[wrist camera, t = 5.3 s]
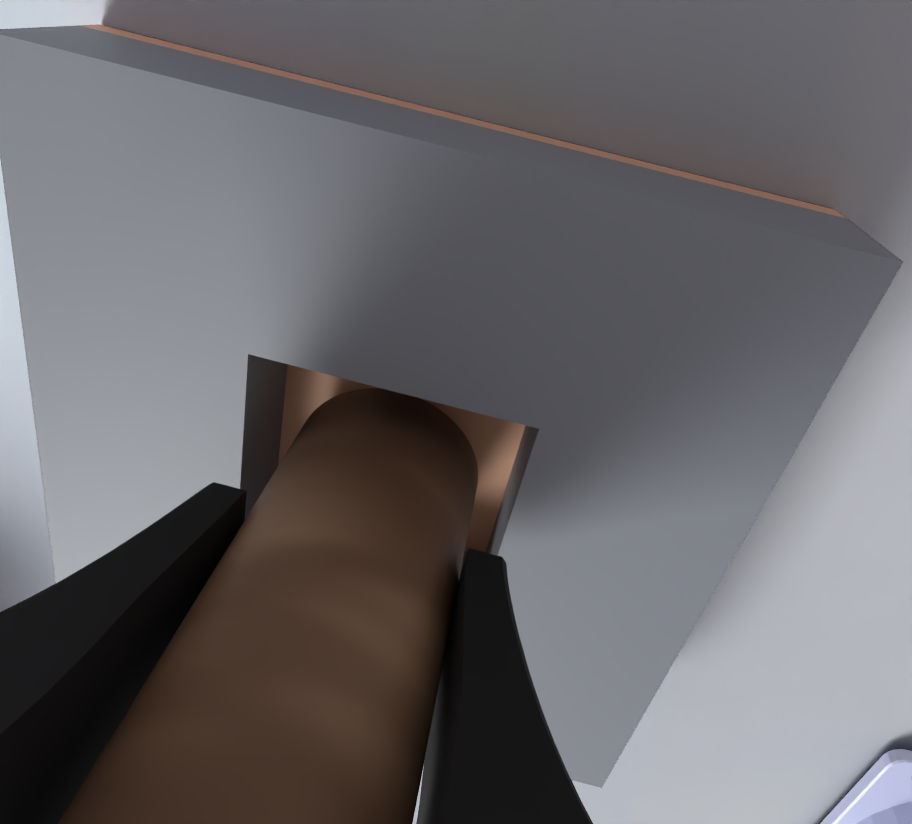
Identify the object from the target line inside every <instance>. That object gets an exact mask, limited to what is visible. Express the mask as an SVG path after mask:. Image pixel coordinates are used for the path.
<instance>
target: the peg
mask: <svg viewBox="0 0 912 824" xmlns="http://www.w3.org/2000/svg"><path fill="white" fill-rule="evenodd" d="M477 484H478V467H477V461H476V458H475V454H474V451H473V449H472V447H471V445H470V443H469V441H468V439H467V438H466V436H465V434H464V433H463V431H462V430H461V429H460V428H459V427H458V426H457V424H456V423H455V422H454V421H453V420H452V419H451V418H450V417H448V416H447V415H446V414H445V413H444V412H442V411H441V410H440V409H438V408H437V407H435V406H434V405H432V404H430V403H428V402H427V401H425V400H422V399H420V398H417V397H413V396H410V395H406V394H402V393H398V392H394V391H390V390H386V389H379V388H370V389H359V390H353V391H349V392H346V393H342V394H339V395H337V396H335V397H333V398H331V399H329V400H327V401H326V402H324V403H323V404H321V405H320V406H319V407H318V408H317V409H316V410H315V411H313V413H312V414H311V415H310V416H309V418H308V419H307V420H306V422H305V423H304V425H303V427H302V428H301V430H300V432H299V433H298V435H297V436H296V438H295V440H294V441H293V443H292V445H291V446H290V448H289V449H288V451H287V453H286V454H285V456H284V457H283V459H282V461H281V462H280V464H279V466H278V467H277V469H276V470H275V472H274V474H273V475H272V477H271V479H270V480H269V482H268V483H267V485H266V487H265V488H264V490H263V492H262V493H261V495H260V496H259V498H258V500H257V501H256V503H255V504H254V506H253V508H252V509H251V511H250V513H249V514H248V516H247V517H246V519H245V521H244V522H243V524H242V526H241V527H240V529H239V530H238V532H237V534H236V535H235V537H234V539H233V540H232V542H231V543H230V545H229V547H228V548H227V550H226V552H225V553H224V555H223V556H222V558H221V560H220V561H219V563H218V564H217V566H216V568H215V569H214V571H213V573H212V574H211V576H210V577H209V579H208V581H207V582H206V584H205V586H204V587H203V589H202V590H201V592H200V594H199V595H198V597H197V599H196V600H195V602H194V603H193V605H192V607H191V608H190V610H189V612H188V613H187V615H186V616H185V618H184V620H183V621H182V623H181V624H180V626H179V628H178V629H177V631H176V633H175V634H174V636H173V637H172V639H171V641H170V642H169V644H168V646H167V647H166V649H165V650H164V652H163V654H162V655H161V657H160V659H159V660H158V662H157V663H156V665H155V667H154V668H153V670H152V671H151V673H150V675H149V676H148V678H147V680H146V681H145V683H144V684H143V686H142V688H141V689H140V691H139V693H138V694H137V696H136V697H135V699H134V701H133V702H132V704H131V706H130V707H129V709H128V710H127V712H126V714H125V715H124V717H123V719H122V720H121V722H120V723H119V725H118V727H117V728H116V730H115V731H114V733H113V735H112V736H111V738H110V740H109V741H108V743H107V744H106V746H105V748H104V749H103V751H102V753H101V754H100V756H99V757H98V759H97V761H96V762H95V764H94V766H93V767H92V769H91V770H90V772H89V774H88V775H87V777H86V779H85V780H84V782H83V783H82V785H81V787H80V788H79V790H78V791H77V793H76V795H75V796H74V798H73V800H72V801H71V803H70V804H69V806H68V808H67V809H66V811H65V813H64V814H63V816H62V817H61V819H60V821H59V822H58V824H412V822H413V817H414V812H415V806H416V801H417V796H418V791H419V786H420V781H421V775H422V770H423V765H424V760H425V755H426V749H427V744H428V739H429V734H430V729H431V723H432V718H433V713H434V708H435V703H436V697H437V692H438V687H439V682H440V677H441V671H442V666H443V661H444V656H445V651H446V645H447V640H448V635H449V630H450V624H451V619H452V614H453V609H454V604H455V598H456V593H457V588H458V583H459V578H460V573H461V568H462V562H463V557H464V552H465V547H466V542H467V536H468V531H469V526H470V521H471V516H472V511H473V505H474V500H475V495H476V490H477Z"/></svg>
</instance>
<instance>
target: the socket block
mask: <svg viewBox="0 0 912 824" xmlns="http://www.w3.org/2000/svg"><path fill="white" fill-rule="evenodd" d="M0 158H1V166H2V173H3V181H4V189H5V197H6V204H7V212H8V220H9V227H10V235H11V243H12V251H13V258H14V266H15V274H16V282H17V289H18V297H19V305H20V312H21V320H22V328H23V336H24V343H25V351H26V359H27V366H28V374H29V382H30V390H31V397H32V405H33V413H34V420H35V428H36V436H37V444H38V451H39V459H40V467H41V475H42V482H43V490H44V498H45V505H46V513H47V521H48V529H49V536H50V544H51V552H52V559H53V567H54V575H55V583H58V582H59V581H61V580H63V579H65V578H66V577H68V576H70V575H71V574H73V573H75V572H76V571H78V570H80V569H82V568H83V567H85V566H87V565H88V564H90V563H92V562H93V561H95V560H97V559H99V558H100V557H102V556H104V555H105V554H107V553H108V552H110V551H112V550H113V549H115V548H116V547H118V546H119V545H121V544H122V543H124V542H126V541H127V540H129V539H130V538H132V537H133V536H135V535H136V534H138V533H139V532H141V531H142V530H144V529H145V528H147V527H148V526H150V525H151V524H153V523H154V522H156V521H157V520H159V519H160V518H162V517H163V516H165V515H166V514H167V513H169V512H170V511H172V510H173V509H175V508H176V507H178V506H179V505H180V504H182V503H183V502H185V501H186V500H187V499H189V498H190V497H192V496H193V495H195V494H196V493H197V492H199V491H200V490H202V489H203V488H205V487H206V486H207V485H209V484H211V483H213V482H215V483H219V484H223V485H227V486H231V487H234V488H238V489H242V490H246V506H245V519H246V517H247V516H248V514H249V513H250V511H251V509H252V508H253V506H254V504H255V503H256V501H257V500H258V498H259V496H260V495H261V493H262V492H263V490H264V488H265V487H266V485H267V483H268V482H269V480H270V479H271V477H272V475H273V474H274V472H275V470H276V469H277V467H278V466H279V464H280V462H281V461H282V459H283V457H284V456H285V454H286V453H287V451H288V449H289V448H290V446H291V445H292V443H293V441H294V440H295V438H296V436H297V435H298V433H299V432H300V430H301V428H302V427H303V425H304V423H305V422H306V420H307V419H308V418H309V416H310V415H311V414H312V413H313V411H315V410H316V409H317V408H318V407H319V406H320V405H321V404H323V403H324V402H326V401H327V400H329V399H331V398H333V397H335V396H337V395H339V394H342V393H346V392H349V391H353V390H359V389H370V388H379V389H386V390H390V391H394V392H398V393H402V394H406V395H410V396H413V397H417V398H420V399H422V400H425V401H427V402H428V403H430V404H432V405H434V406H435V407H437V408H438V409H440V410H441V411H442V412H444V413H445V414H446V415H447V416H448V417H450V418H451V419H452V420H453V421H454V422H455V423H456V424H457V426H458V427H459V428H460V429H461V430H462V431H463V433H464V434H465V436H466V438H467V439H468V441H469V443H470V445H471V447H472V449H473V451H474V454H475V458H476V461H477V467H478V484H477V490H476V495H475V500H474V505H473V511H472V516H471V521H470V526H469V531H468V536H467V542H466V547H465V552H464V557H463V562H462V568H461V572H462V569H463V565H464V562H465V559H466V555H467V552H468V549H469V548H470V549H474V550H478V551H482V552H485V553H489V554H493V555H497V556H501V557H503V559H504V560H505V562H506V565H507V576H508V584H509V590H510V596H511V601H512V606H513V611H514V616H515V620H516V624H517V629H518V633H519V637H520V640H521V644H522V647H523V651H524V655H525V658H526V662H527V665H528V669H529V672H530V675H531V678H532V681H533V685H534V688H535V690H536V693H537V696H538V699H539V702H540V705H541V708H542V711H543V713H544V716H545V719H546V721H547V724H548V727H549V729H550V732H551V734H552V737H553V739H554V742H555V744H556V747H557V749H558V751H559V754H560V756H561V758H562V761H563V763H564V765H565V768H566V770H567V772H568V774H569V776H570V778H571V780H574V781H578V782H582V783H585V784H589V785H593V786H597V787H601V788H602V786H603V785H604V783H605V781H606V779H607V778H608V776H609V774H610V772H611V771H612V769H613V767H614V765H615V764H616V762H617V760H618V758H619V757H620V755H621V753H622V751H623V750H624V748H625V746H626V744H627V743H628V741H629V739H630V737H631V736H632V734H633V732H634V730H635V729H636V727H637V725H638V724H639V722H640V720H641V718H642V717H643V715H644V713H645V711H646V710H647V708H648V706H649V704H650V703H651V701H652V699H653V697H654V696H655V694H656V692H657V690H658V689H659V687H660V685H661V683H662V682H663V680H664V678H665V676H666V675H667V673H668V671H669V669H670V668H671V666H672V664H673V662H674V661H675V659H676V657H677V655H678V654H679V652H680V650H681V648H682V647H683V645H684V643H685V641H686V640H687V638H688V636H689V634H690V633H691V631H692V629H693V628H694V626H695V624H696V622H697V621H698V619H699V617H700V615H701V614H702V612H703V610H704V608H705V607H706V605H707V603H708V601H709V600H710V598H711V596H712V594H713V593H714V591H715V589H716V587H717V586H718V584H719V582H720V580H721V579H722V577H723V575H724V573H725V572H726V570H727V568H728V566H729V565H730V563H731V561H732V559H733V558H734V556H735V554H736V552H737V551H738V549H739V547H740V545H741V544H742V542H743V540H744V538H745V537H746V535H747V533H748V532H749V530H750V528H751V526H752V525H753V523H754V521H755V519H756V518H757V516H758V514H759V512H760V511H761V509H762V507H763V505H764V504H765V502H766V500H767V498H768V497H769V495H770V493H771V491H772V490H773V488H774V486H775V484H776V483H777V481H778V479H779V477H780V476H781V474H782V472H783V470H784V469H785V467H786V465H787V463H788V462H789V460H790V458H791V456H792V455H793V453H794V451H795V449H796V448H797V446H798V444H799V443H800V441H801V439H802V437H803V436H804V434H805V432H806V430H807V429H808V427H809V425H810V423H811V422H812V420H813V418H814V416H815V415H816V413H817V411H818V409H819V408H820V406H821V404H822V402H823V401H824V399H825V397H826V395H827V394H828V392H829V390H830V388H831V387H832V385H833V383H834V381H835V380H836V378H837V376H838V374H839V373H840V371H841V369H842V367H843V366H844V364H845V362H846V360H847V359H848V357H849V355H850V353H851V352H852V350H853V348H854V347H855V345H856V343H857V341H858V340H859V338H860V336H861V334H862V333H863V331H864V329H865V327H866V326H867V324H868V322H869V320H870V319H871V317H872V315H873V313H874V312H875V310H876V308H877V306H878V305H879V303H880V301H881V299H882V298H883V296H884V294H885V292H886V291H887V289H888V287H889V285H890V284H891V282H892V280H893V278H894V277H895V275H896V273H897V271H898V270H899V268H900V266H901V264H902V263H903V262H902V261H901V260H900V259H899V258H897V257H896V256H895V255H893V254H892V253H891V252H890V251H888V250H887V249H886V248H884V247H883V246H882V245H881V244H879V243H878V242H877V241H875V240H874V239H873V238H871V237H870V236H869V235H868V234H866V233H865V232H864V231H862V230H861V229H860V228H859V227H857V226H856V225H855V224H853V223H852V222H851V221H850V220H848V219H847V218H846V217H844V216H843V215H842V214H841V213H839V212H838V211H837V210H834V209H830V208H826V207H822V206H818V205H814V204H810V203H806V202H802V201H798V200H794V199H791V198H787V197H783V196H779V195H775V194H771V193H767V192H763V191H759V190H755V189H751V188H747V187H743V186H739V185H735V184H731V183H727V182H723V181H719V180H715V179H711V178H707V177H703V176H699V175H695V174H691V173H687V172H683V171H679V170H675V169H671V168H667V167H663V166H659V165H655V164H651V163H647V162H643V161H640V160H636V159H632V158H628V157H624V156H620V155H616V154H612V153H608V152H604V151H600V150H596V149H592V148H588V147H584V146H580V145H576V144H572V143H568V142H564V141H560V140H556V139H552V138H548V137H544V136H540V135H536V134H532V133H528V132H524V131H520V130H516V129H512V128H508V127H504V126H500V125H496V124H492V123H489V122H485V121H481V120H477V119H473V118H469V117H465V116H461V115H457V114H453V113H449V112H445V111H441V110H437V109H433V108H429V107H425V106H421V105H417V104H413V103H409V102H405V101H401V100H397V99H393V98H389V97H385V96H381V95H377V94H373V93H369V92H365V91H361V90H357V89H353V88H349V87H345V86H341V85H337V84H334V83H330V82H326V81H322V80H318V79H314V78H310V77H306V76H302V75H298V74H294V73H290V72H286V71H282V70H278V69H274V68H270V67H266V66H262V65H258V64H254V63H250V62H246V61H242V60H238V59H234V58H230V57H226V56H222V55H218V54H214V53H210V52H206V51H202V50H198V49H194V48H190V47H186V46H183V45H179V44H175V43H171V42H167V41H163V40H159V39H155V38H151V37H147V36H143V35H139V34H135V33H131V32H127V31H123V30H119V29H115V28H111V27H107V26H103V25H82V26H61V27H40V28H19V29H0ZM460 576H461V573H460ZM459 579H460V578H459Z"/></svg>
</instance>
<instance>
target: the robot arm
mask: <svg viewBox="0 0 912 824" xmlns="http://www.w3.org/2000/svg"><path fill="white" fill-rule="evenodd" d="M245 506H246V490H242V489H238V488H234V487H231V486H227V485H223V484H219V483H215V482H213V483H211V484H209V485H207V486H206V487H205V488H203V489H202V490H200V491H199V492H197V493H196V494H195V495H193V496H192V497H190V498H189V499H187V500H186V501H185V502H183V503H182V504H180V505H179V506H178V507H176V508H175V509H173V510H172V511H170V512H169V513H167V514H166V515H165V516H163V517H162V518H160V519H159V520H157V521H156V522H154V523H153V524H151V525H150V526H148V527H147V528H145V529H144V530H142V531H141V532H139V533H138V534H136V535H135V536H133V537H132V538H130V539H129V540H127V541H126V542H124V543H122V544H121V545H119V546H118V547H116V548H115V549H113V550H112V551H110V552H108V553H107V554H105V555H104V556H102V557H100V558H99V559H97V560H95V561H93V562H92V563H90V564H88V565H87V566H85V567H83V568H82V569H80V570H78V571H76V572H75V573H73V574H71V575H70V576H68V577H66V578H65V579H63V580H61V581H59V582H58V583H56V584H54V585H52V586H50V587H48V588H47V589H45V590H43V591H41V592H39V593H37V594H35V595H33V596H32V597H30V598H28V599H26V600H24V601H22V602H20V603H18V604H16V605H14V606H12V607H10V608H8V609H6V610H4V611H2V612H0V824H58V822H59V821H60V819H61V817H62V816H63V814H64V813H65V811H66V809H67V808H68V806H69V804H70V803H71V801H72V800H73V798H74V796H75V795H76V793H77V791H78V790H79V788H80V787H81V785H82V783H83V782H84V780H85V779H86V777H87V775H88V774H89V772H90V770H91V769H92V767H93V766H94V764H95V762H96V761H97V759H98V757H99V756H100V754H101V753H102V751H103V749H104V748H105V746H106V744H107V743H108V741H109V740H110V738H111V736H112V735H113V733H114V731H115V730H116V728H117V727H118V725H119V723H120V722H121V720H122V719H123V717H124V715H125V714H126V712H127V710H128V709H129V707H130V706H131V704H132V702H133V701H134V699H135V697H136V696H137V694H138V693H139V691H140V689H141V688H142V686H143V684H144V683H145V681H146V680H147V678H148V676H149V675H150V673H151V671H152V670H153V668H154V667H155V665H156V663H157V662H158V660H159V659H160V657H161V655H162V654H163V652H164V650H165V649H166V647H167V646H168V644H169V642H170V641H171V639H172V637H173V636H174V634H175V633H176V631H177V629H178V628H179V626H180V624H181V623H182V621H183V620H184V618H185V616H186V615H187V613H188V612H189V610H190V608H191V607H192V605H193V603H194V602H195V600H196V599H197V597H198V595H199V594H200V592H201V590H202V589H203V587H204V586H205V584H206V582H207V581H208V579H209V577H210V576H211V574H212V573H213V571H214V569H215V568H216V566H217V564H218V563H219V561H220V560H221V558H222V556H223V555H224V553H225V552H226V550H227V548H228V547H229V545H230V543H231V542H232V540H233V539H234V537H235V535H236V534H237V532H238V530H239V529H240V527H241V526H242V524H243V522H244V521H245ZM417 824H593V823H592V821H591V819H590V817H589V815H588V813H587V811H586V809H585V808H584V806H583V804H582V802H581V800H580V798H579V796H578V793H577V791H576V789H575V787H574V785H573V783H572V780H571V778H570V776H569V774H568V772H567V770H566V768H565V765H564V763H563V761H562V758H561V756H560V754H559V751H558V749H557V747H556V744H555V742H554V739H553V737H552V734H551V732H550V729H549V727H548V724H547V721H546V719H545V716H544V713H543V711H542V708H541V705H540V702H539V699H538V696H537V693H536V690H535V688H534V685H533V681H532V678H531V675H530V672H529V669H528V665H527V662H526V658H525V655H524V651H523V647H522V644H521V640H520V637H519V633H518V629H517V624H516V620H515V616H514V611H513V606H512V601H511V596H510V590H509V584H508V576H507V565H506V562H505V560H504V559H503V557H501V556H497V555H493V554H489V553H485V552H482V551H478V550H474V549H470V548H469V549H468V552H467V555H466V559H465V562H464V565H463V569H462V572H461V576H460V579H459V583H458V588H457V593H456V598H455V604H454V609H453V614H452V619H451V624H450V630H449V635H448V640H447V645H446V651H445V656H444V661H443V666H442V671H441V677H440V682H439V687H438V692H437V697H436V703H435V708H434V713H433V718H432V723H431V729H430V734H429V739H428V744H427V749H426V755H425V761H424V770H423V778H422V787H421V796H420V805H419V811H418V818H417ZM820 824H912V751H910V750H905V749H895V750H891V751H888V752H886V753H885V754H883V755H882V756H881V758H880V759H879V760H878V761H877V762H876V763H875V764H874V765H873V766H872V767H871V768H870V770H869V771H868V772H867V773H866V774H865V775H864V776H863V777H862V778H861V779H860V781H859V782H858V783H857V784H856V785H855V786H854V787H853V788H852V789H851V790H850V791H849V793H848V794H847V795H846V796H845V797H844V798H843V799H842V800H841V801H840V802H839V804H838V805H837V806H836V807H835V808H834V809H833V810H832V811H831V812H830V813H829V814H828V816H827V817H826V818H825V819H824V820H823V821H822V822H821V823H820Z"/></svg>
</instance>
